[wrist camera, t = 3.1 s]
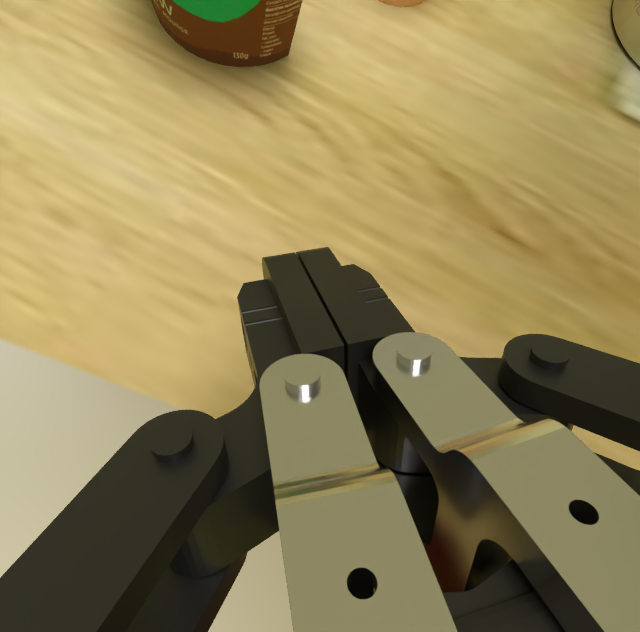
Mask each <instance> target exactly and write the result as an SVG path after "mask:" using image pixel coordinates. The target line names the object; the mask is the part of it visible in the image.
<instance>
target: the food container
mask: <svg viewBox="0 0 640 632" xmlns="http://www.w3.org/2000/svg"><path fill="white" fill-rule="evenodd" d="M152 3H153V6H154V8H155V11H156V13H157V16H158V18H159V21H160V23H161V24H162V25H163V27H164V28H165V30H166V31H167V33H168V34H169V35H170V36H171V37H172V38H173V39H174V40H175V41H176V42H177V43H178V44H180V45H181V46H182V47H184V48H185V49H186V50H188V51H189V52H191V53H193V54H195V55H196V56H198V57H201V58H203V59H206V60H208V61H211V62H214V63H218V64H222V65H228V66H236V67H251V66H258V65H264V64H268V63H271V62H274V61H277V60H279V59H281V58H283V57H285V56H287V55H288V54H289V51H290V47H291V43H292V39H293V35H294V31H295V27H296V23H297V19H298V15H299V12H300V8H301V4H302V0H152Z"/></svg>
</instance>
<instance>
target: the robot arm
mask: <svg viewBox="0 0 640 632" xmlns="http://www.w3.org/2000/svg"><path fill="white" fill-rule="evenodd" d="M612 11H613V22H614V26H615V30H616V33H617V35H618V37H619V39H620V41H621V44H622V45H623V47H624V48H625V50H626V51H627V53H628V54H629V55H630V57H631V58H632V59H633V60H634V61H635V62H636V63H637V64H638V65H639V66H640V0H614V2H613V7H612ZM262 267H263V276H264V280H259V281H253V282H247V283H244V284H243V286H242V288H241V290H240V292H239V295H238V297H237V298H238V304H239V310H240V316H241V322H242V329H243V335H244V341H245V347H246V353H247V357H248V361H249V365H250V369H251V373H252V377H253V381H254V385H255V389H254V391H253V393H252V394H251V395H250V397H249V398H248V399H247V400H246V401H245V402H244V403H243V404H242V405H240V406H239V407H238V408H236V409H234V410H233V411H231V412H229V413H227V414H225V415H223V416H221V417H219V418H217V419H214V418H213V417H211V416H210V415H208V414H206V413H203V412H200V411H195V410H178V411H173V412H169V413H166V414H163V415H160V416H158V417H156V418H153V419H152V420H150V421H148V422H147V423H145V424H144V425H143V426H141V427H140V428H139V429H138V430H137V431H136V432H135V433H134V434H133V435H132V436H131V437H130V438H129V439H128V440H127V442H126V443H125V444H124V445H123V446H122V447H121V448H120V449H119V450H118V451H117V452H116V453H115V454H114V455H113V457H112V458H111V459H110V460H109V461H108V462H107V463H106V464H105V465H104V467H102V468H101V470H100V471H99V472H98V473H97V474H96V475H95V476H94V477H93V478H92V479H91V480H90V481H89V482H88V484H87V485H86V486H85V487H84V488H83V489H82V490H81V491H80V492H79V493H78V495H76V497H75V498H74V499H73V500H72V501H71V502H70V503H69V504H68V505H67V506H66V507H65V508H64V510H63V511H62V512H61V513H60V514H59V515H58V516H57V517H56V518H55V519H54V520H53V522H52V523H51V524H50V525H49V526H48V527H47V528H46V529H45V530H44V531H43V532H42V533H41V534H40V536H39V537H38V538H37V539H36V540H35V541H34V542H33V543H32V544H31V545H30V546H29V547H28V549H27V550H26V551H25V552H24V553H23V554H22V555H21V556H20V557H19V558H18V559H17V560H16V561H15V563H14V564H13V565H12V566H11V567H10V568H9V569H8V570H7V571H6V572H5V573H4V574H3V576H2V577H1V578H0V632H208V630H209V628H210V626H211V625H212V623H213V620H214V619H215V617H216V615H217V613H218V611H219V609H220V608H221V606H222V604H223V602H224V600H225V598H226V596H227V594H228V592H229V591H230V589H231V587H232V585H233V583H234V581H235V579H236V577H237V576H238V573H239V572H240V570H241V568H242V566H243V563H244V562H245V559H246V555H247V552H248V551H249V550H251V549H252V548H254V547H255V546H257V545H258V544H260V543H261V542H263V541H264V540H266V539H267V538H269V537H270V536H271V535H273V534H274V533H276V532H278V531H280V537H281V544H282V552H283V559H284V566H285V573H286V580H287V587H288V594H289V601H290V609H291V616H292V622H293V630H294V632H640V471H639V470H635V469H633V468H630V467H628V466H626V465H623V464H621V463H618V462H616V461H614V460H611V459H609V458H606V457H604V456H602V455H599V454H597V453H594V452H593V451H592V450H591V449H589V448H588V447H587V446H586V445H585V444H584V443H583V442H582V441H581V440H580V439H579V438H578V437H577V436H576V435H575V434H574V433H573V432H571V430H572V428H573V426H574V425H575V426H578V427H580V428H583V429H585V430H588V431H590V432H593V433H595V434H598V435H600V436H603V437H605V438H608V439H610V440H613V441H615V442H618V443H620V444H623V445H625V446H628V447H630V448H633V449H635V450H638V451H640V364H639V363H636V362H633V361H630V360H626V359H623V358H620V357H617V356H614V355H611V354H608V353H604V352H601V351H598V350H595V349H592V348H589V347H586V346H582V345H579V344H576V343H573V342H570V341H567V340H564V339H561V338H557V337H553V336H549V335H543V334H527V335H521V336H518V337H515V338H513V339H512V340H510V341H509V342H508V343H507V344H506V346H505V348H504V352H503V356H502V358H466V357H458V356H457V355H456V354H455V353H454V351H453V350H452V349H451V348H450V347H449V346H447V345H446V344H445V343H444V342H442V341H441V340H439V339H437V338H435V337H433V336H430V335H427V334H422V333H416V332H415V331H414V330H413V329H412V327H411V326H410V325H409V324H408V322H407V321H406V320H405V318H404V317H403V316H402V314H401V313H400V312H399V310H398V309H397V308H396V306H395V305H394V304H393V303H392V301H391V300H390V299H388V296H387V295H386V293H385V292H384V291H383V289H382V288H380V285H379V284H378V283H377V281H376V280H375V279H374V278H373V276H372V275H371V274H370V273H369V272H367V271H365V270H363V269H361V268H360V267H358V266H356V265H354V264H351V265H346V266H341V265H340V263H339V262H338V260H337V259H336V257H335V256H334V254H333V253H332V251H331V250H330V249H329V248H328V247H325V248H318V249H312V250H306V251H300V252H296V254H295V253H288V254H282V255H276V256H270V257H263V258H262Z"/></svg>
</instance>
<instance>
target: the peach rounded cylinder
mask: <svg viewBox="0 0 640 632" xmlns="http://www.w3.org/2000/svg"><path fill="white" fill-rule="evenodd" d="M379 1H381V2H383V3H386V4H388V5H392V6H398V7H410V6H415V5H418V4H421V3H423V2H425V1H426V0H379Z"/></svg>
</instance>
